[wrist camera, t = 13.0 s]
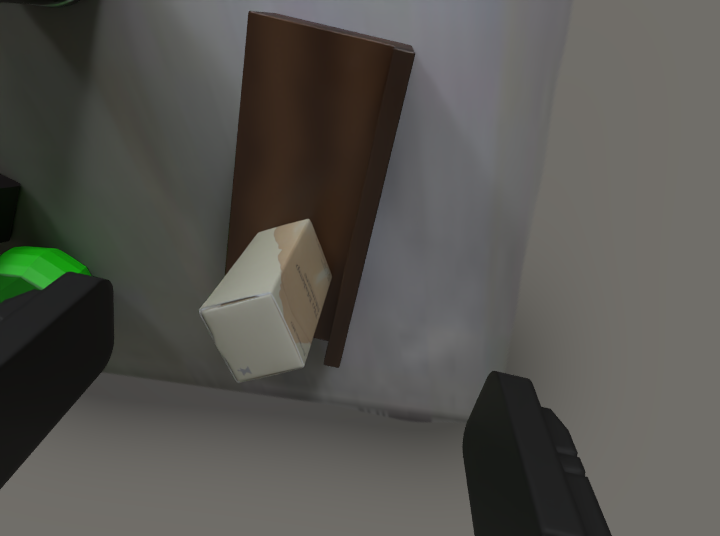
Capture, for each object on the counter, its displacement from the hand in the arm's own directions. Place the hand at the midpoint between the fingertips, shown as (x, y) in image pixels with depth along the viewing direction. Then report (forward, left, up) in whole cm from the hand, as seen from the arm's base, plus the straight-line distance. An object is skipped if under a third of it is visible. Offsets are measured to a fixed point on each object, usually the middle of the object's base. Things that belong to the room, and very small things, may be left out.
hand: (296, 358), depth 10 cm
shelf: (+1, -7, -30) cm, 31 cm away
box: (+3, -10, -23) cm, 26 cm away
